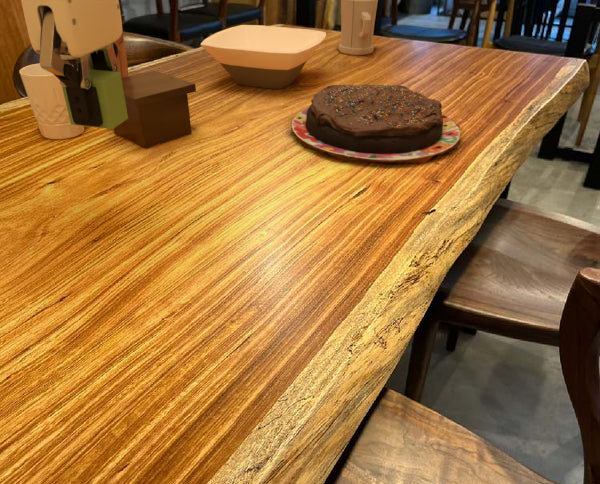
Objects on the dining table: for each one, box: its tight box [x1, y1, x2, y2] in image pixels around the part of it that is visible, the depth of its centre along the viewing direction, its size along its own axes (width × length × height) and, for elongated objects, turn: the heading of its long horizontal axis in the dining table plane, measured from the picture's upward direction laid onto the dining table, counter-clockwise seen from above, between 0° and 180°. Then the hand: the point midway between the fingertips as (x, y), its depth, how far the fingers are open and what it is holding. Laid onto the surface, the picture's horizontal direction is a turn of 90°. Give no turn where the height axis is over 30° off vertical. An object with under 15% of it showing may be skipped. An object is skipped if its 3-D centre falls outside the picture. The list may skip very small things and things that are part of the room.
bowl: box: [199, 24, 327, 90], centre depth 111 cm, size 22×23×8 cm
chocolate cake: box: [290, 84, 462, 164], centre depth 88 cm, size 28×28×7 cm
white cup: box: [18, 62, 85, 140], centre depth 85 cm, size 8×8×10 cm
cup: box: [338, 0, 379, 56], centre depth 131 cm, size 10×9×12 cm
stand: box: [113, 70, 197, 149], centre depth 86 cm, size 11×11×8 cm
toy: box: [62, 67, 128, 130], centre depth 58 cm, size 5×4×5 cm
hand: (98, 116), depth 59 cm, fingers closed on toy, 3 cm apart
